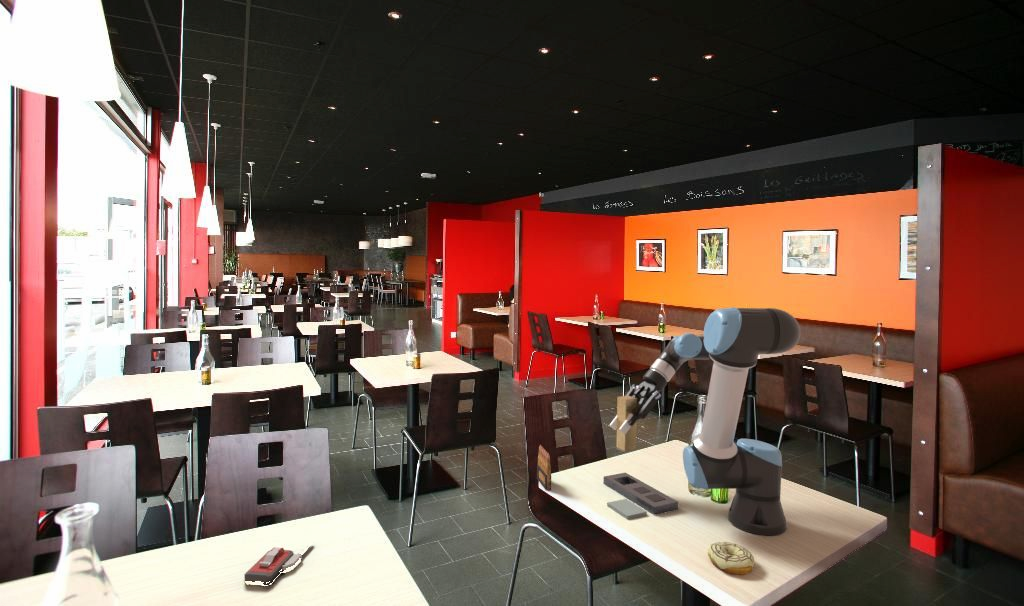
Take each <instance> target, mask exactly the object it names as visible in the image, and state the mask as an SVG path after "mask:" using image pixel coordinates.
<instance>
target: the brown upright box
mask: <svg viewBox="0 0 1024 606" xmlns="http://www.w3.org/2000/svg"><path fill="white" fill-rule="evenodd" d="M551 467H552V466H551V456H550V453H549V452H548V451H546V449H545V448H544V447H543V446H542V444H539V447H538V457H537V466H536V479H537V481H538V483H540V485H541V486H542V487H543V488H544V490H545V491H551V490H552V473H551Z"/></svg>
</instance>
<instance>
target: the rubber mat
mask: <svg viewBox="0 0 1024 606" xmlns="http://www.w3.org/2000/svg"><path fill="white" fill-rule="evenodd" d="M606 506H607V507H608V508H610V509H611V510H613V511H615V512H616V513H617V514H619V515H620V516H622V517H623V518H625V519H626V520H631V519H634V518H639V517H645V516H647V515H648V511H647V510H645V509H643V508H642V507H640V506H639V505H637V504H635V503H634V502H632V501H631V500H629V499H627V498H623V499H618V500H613V501H608V502H606ZM644 515H645V516H644Z"/></svg>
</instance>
